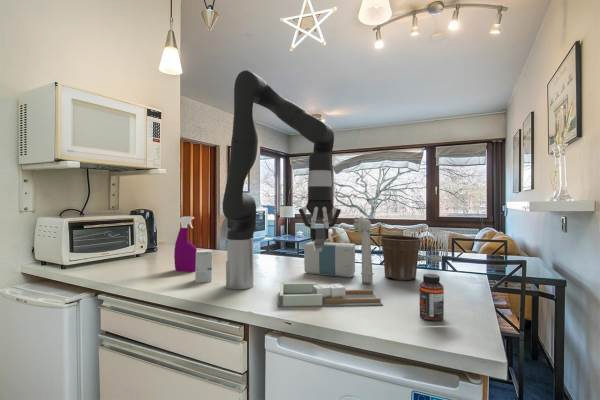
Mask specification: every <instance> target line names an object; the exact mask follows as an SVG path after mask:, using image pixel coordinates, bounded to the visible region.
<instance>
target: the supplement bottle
mask: <svg viewBox="0 0 600 400" xmlns="http://www.w3.org/2000/svg"><path fill="white" fill-rule="evenodd" d="M422 276H423V277H422V279H423V280H422V281H421V282H420V283H419V293H418V294H419V315H420V317H421V318H422V319H424V320H427V321H432V322H439V321H442V320H444V315H445V313H444V309H445V308H444V304H445V302H444V301H445V300H444V297H445V295H444V294H445V293H444V290H445V289H444V285H443V284H442V283H441V282H440V280H441V279H440V275H438V274H436V273H424V274H423V275H422Z"/></svg>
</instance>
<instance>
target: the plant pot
mask: <svg viewBox="0 0 600 400" xmlns="http://www.w3.org/2000/svg"><path fill="white" fill-rule="evenodd" d="M379 239H380V241H381V242H380V243H381V248H382V254H383V267H384V269H383V270H384V276H385V277H386V278H388V279H391V278H392V279H393V280H397V281H411V280H415V279H416V278H417V272H418V271H417V268H418V260H419V252H420V248H421V244H422V243H421V242H422V241H423V238H421V237H417V236H411V235H410V236H408V235H381V236H379Z"/></svg>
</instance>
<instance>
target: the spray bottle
mask: <svg viewBox="0 0 600 400" xmlns="http://www.w3.org/2000/svg"><path fill="white" fill-rule="evenodd" d="M194 219H195V217H194V216H190V215H189V216H181V217H180V218H178V221H179V222H180V225H181V227H180V228H179V230H178V233H177V237H176V241H175V242H174V243H175V244H174V255H173V258H174V269H175V271H176V272H186V273H195V271H196V251H197V250H198V249H197V247H196V246H195V245H194V244H193V243H192V242H190V241H189V240H188V231H189V228H188V225H189V227H190V228H191V229H194V227H193V224H192V220H194Z"/></svg>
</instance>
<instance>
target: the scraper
mask: <svg viewBox="0 0 600 400" xmlns="http://www.w3.org/2000/svg"><path fill="white" fill-rule="evenodd" d="M314 228H315V240H313V242H314V252H321V251H322V245H324V242H326V241H325V240H327V239H326V233H325V228H324V227H314Z"/></svg>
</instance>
